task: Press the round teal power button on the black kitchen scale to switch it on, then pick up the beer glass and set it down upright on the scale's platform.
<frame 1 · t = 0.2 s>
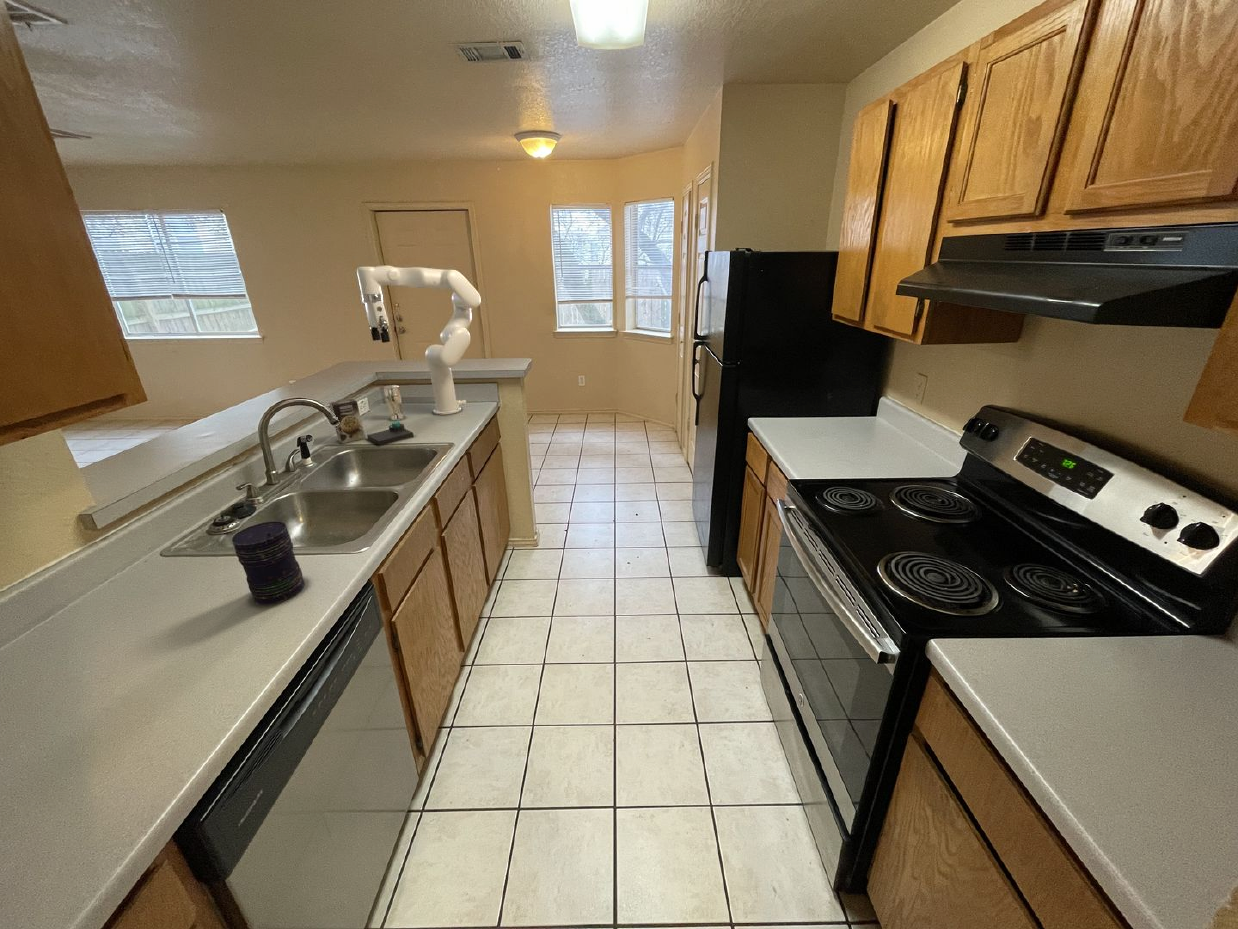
hand: (381, 341, 214), 36 cm above the counter, tool pointing down, fingers open, 9 cm apart
cookie box: (352, 439, 209), on the counter
scale: (390, 437, 209), on the counter
storage jar: (280, 592, 112), on the counter
scale button: (396, 424, 213), point 4 cm above the counter, slide at 0.1 cm
beer glass: (397, 418, 235), on the counter
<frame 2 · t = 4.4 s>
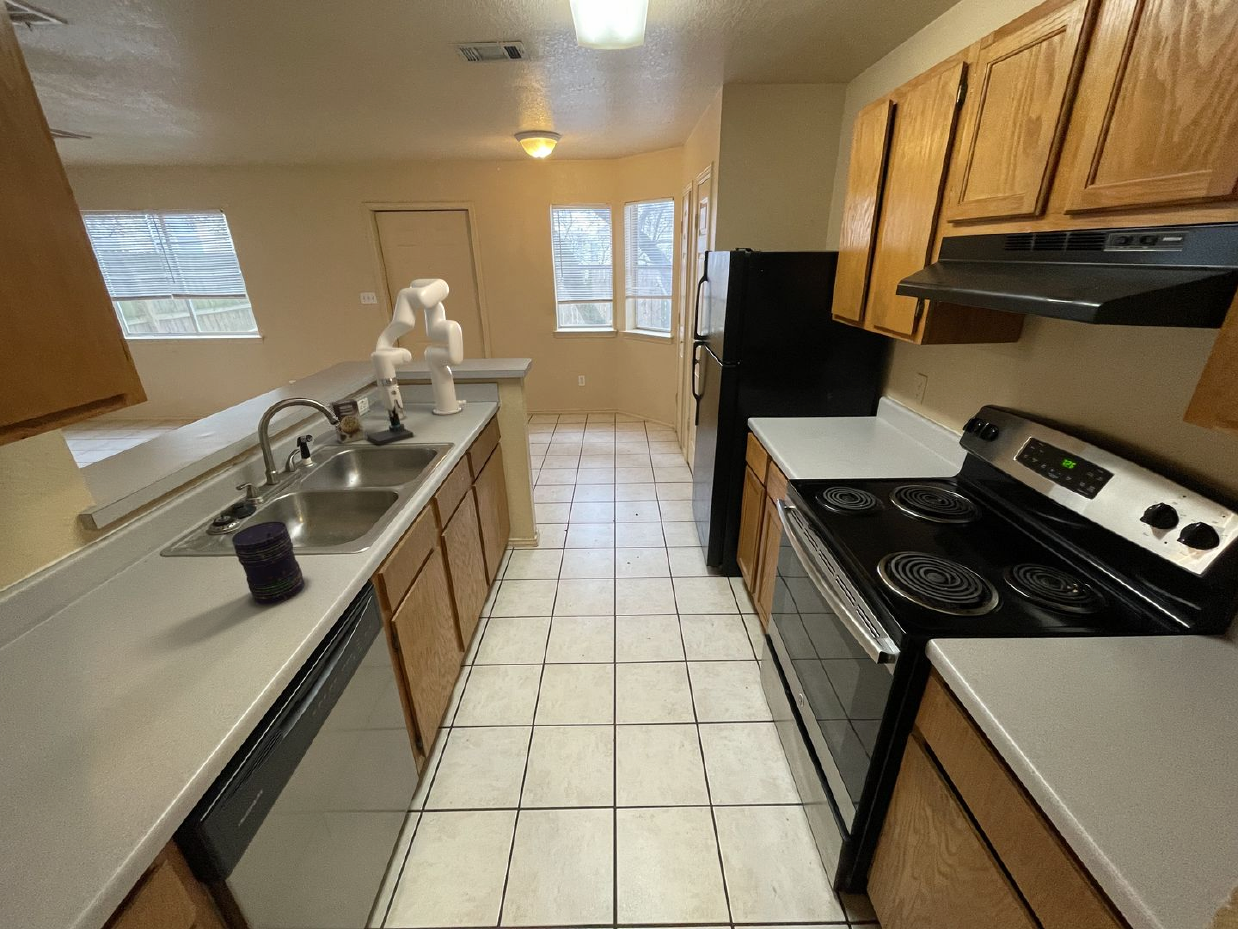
hand: (395, 424, 213), 4 cm above the counter, tool pointing down, fingers closed
scale button: (396, 426, 213), point 3 cm above the counter, slide at -0.7 cm, touching gripper
everything else where it was.
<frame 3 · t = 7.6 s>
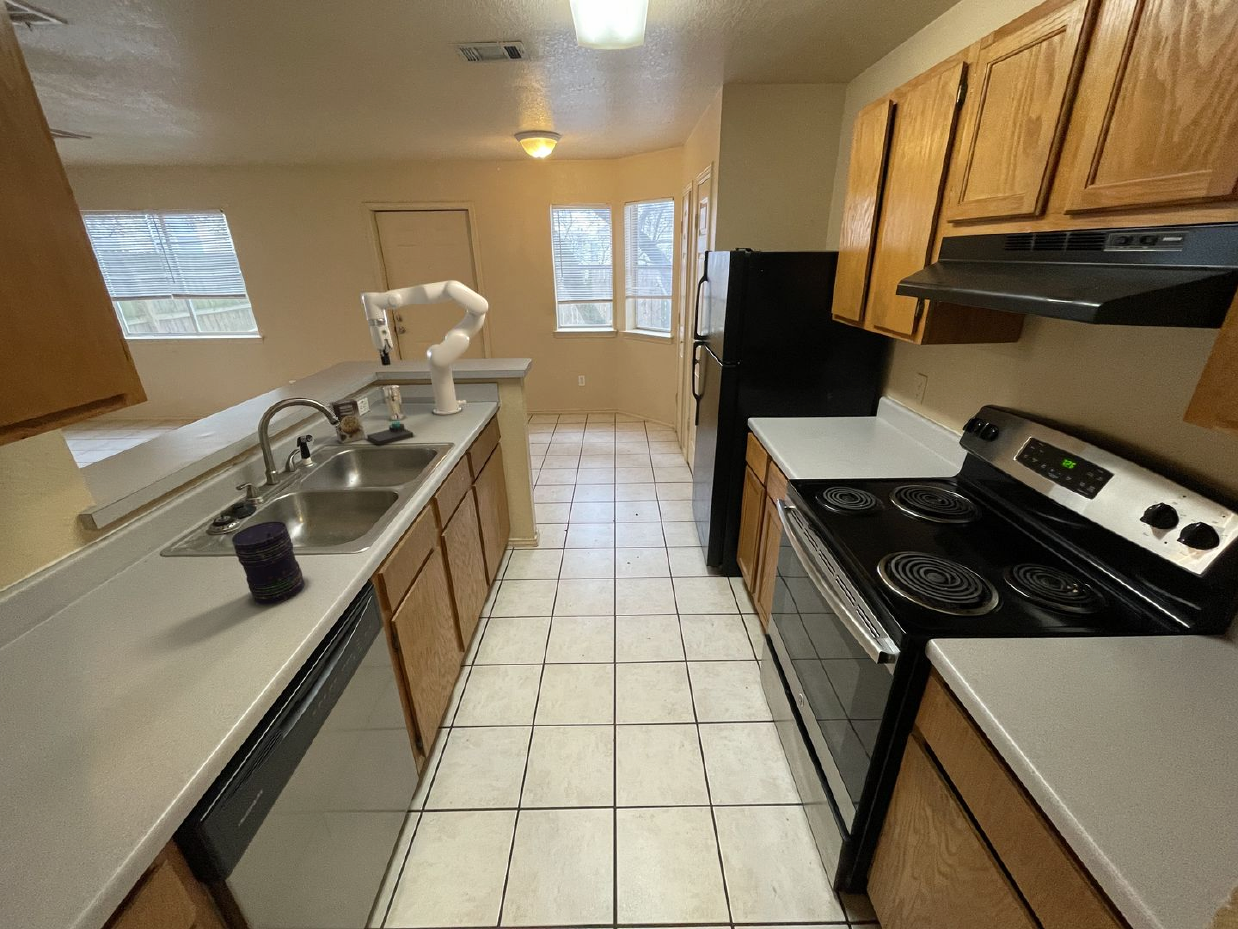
hand: (386, 364, 225), 25 cm above the counter, tool pointing down, fingers closed
scale button: (396, 424, 213), point 4 cm above the counter, slide at 0.1 cm
everything else where it was.
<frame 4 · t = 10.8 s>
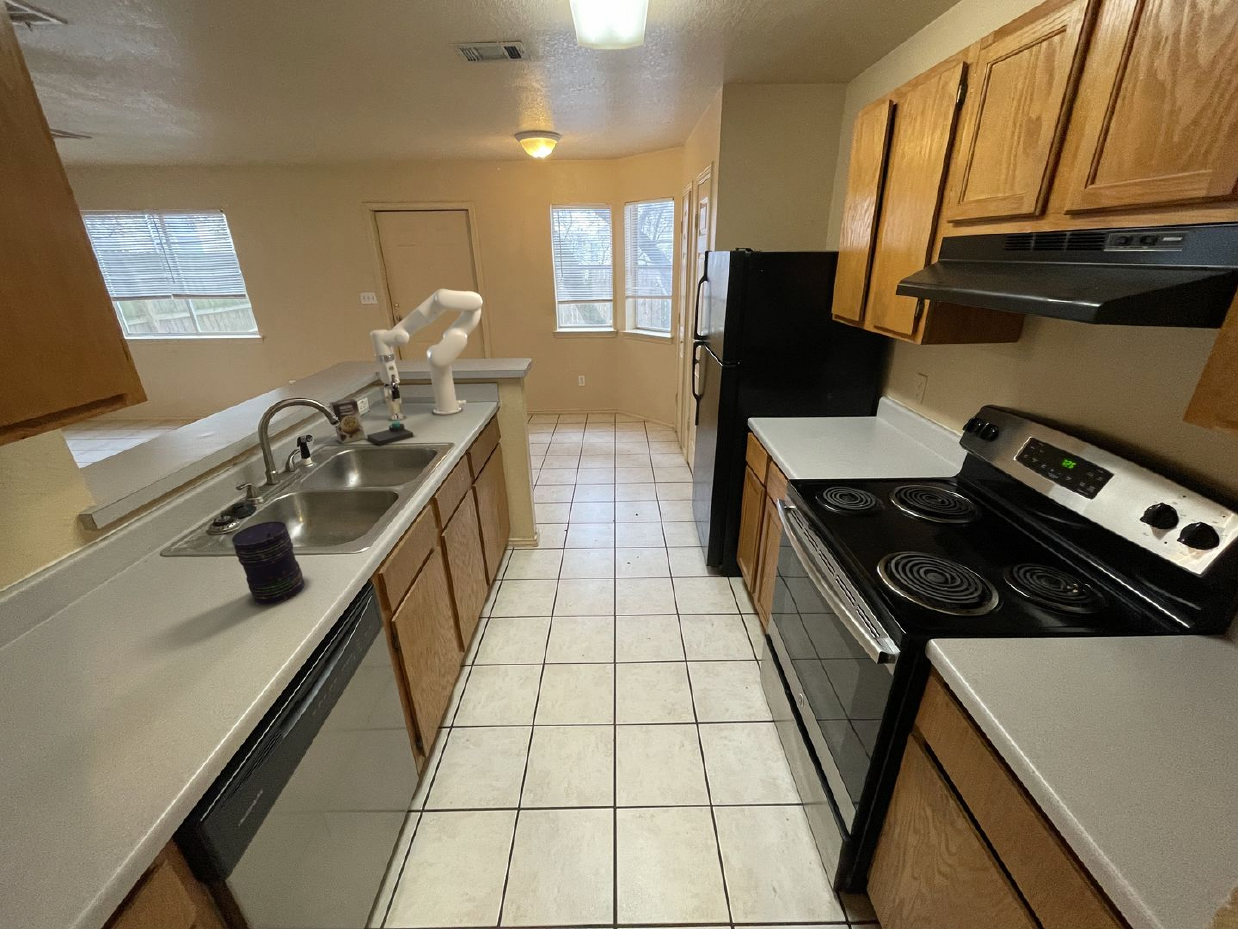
hand: (393, 397, 231), 10 cm above the counter, tool pointing down, fingers closed on beer glass, 7 cm apart
beer glass: (397, 418, 235), on the counter, touching gripper
everything else where it was.
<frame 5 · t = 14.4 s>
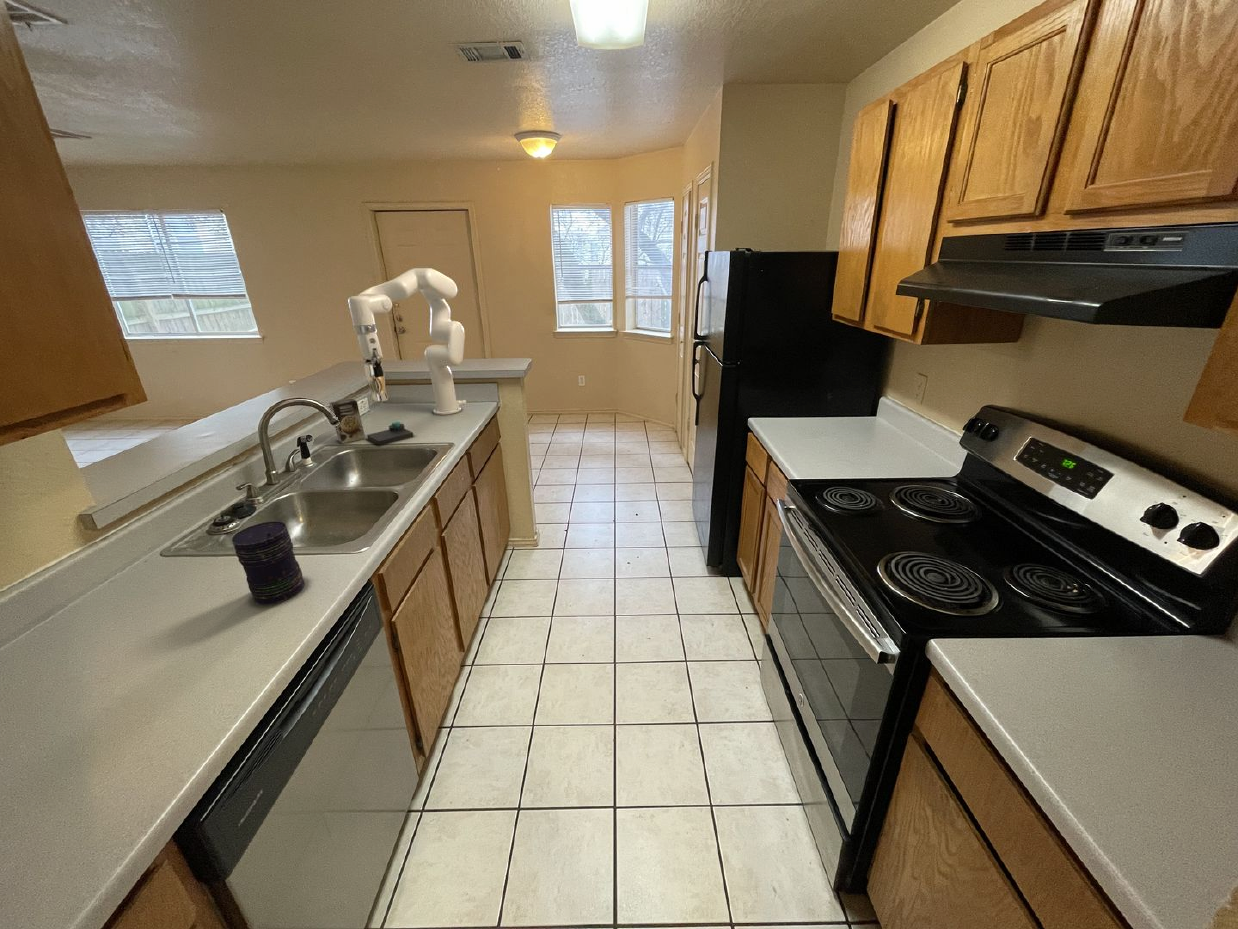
hand: (375, 375, 201), 26 cm above the counter, tool pointing down, fingers closed on beer glass, 7 cm apart
beer glass: (380, 400, 205), point 15 cm above the counter, touching gripper
everything else where it was.
when the fingers open (12 cm above the counter, at t = 18.5 s): beer glass stays where it is, resting on scale.
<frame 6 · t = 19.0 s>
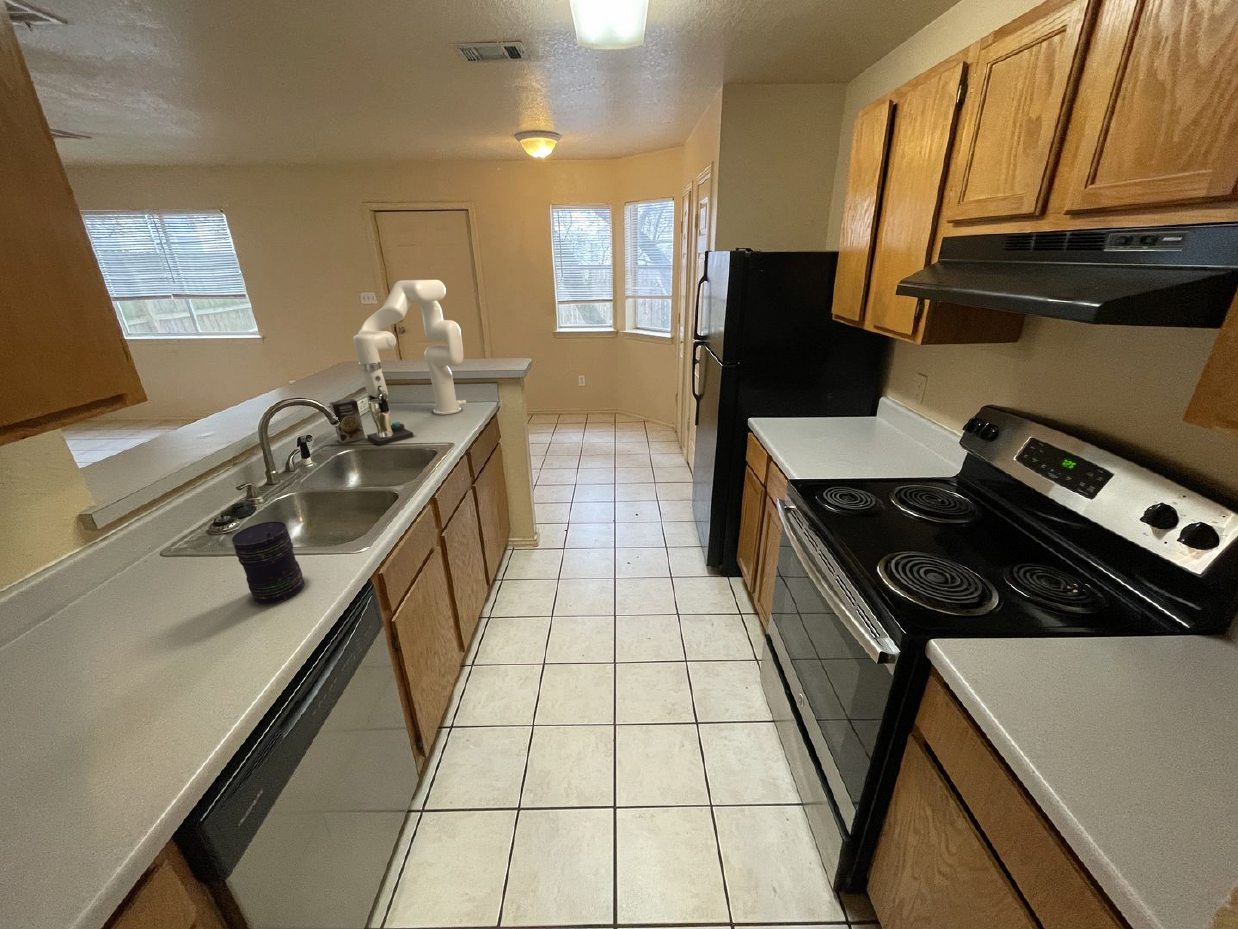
hand: (380, 409, 201), 13 cm above the counter, tool pointing down, fingers open, 9 cm apart
beer glass: (385, 436, 205), point 2 cm above the counter, touching scale
everything else where it was.
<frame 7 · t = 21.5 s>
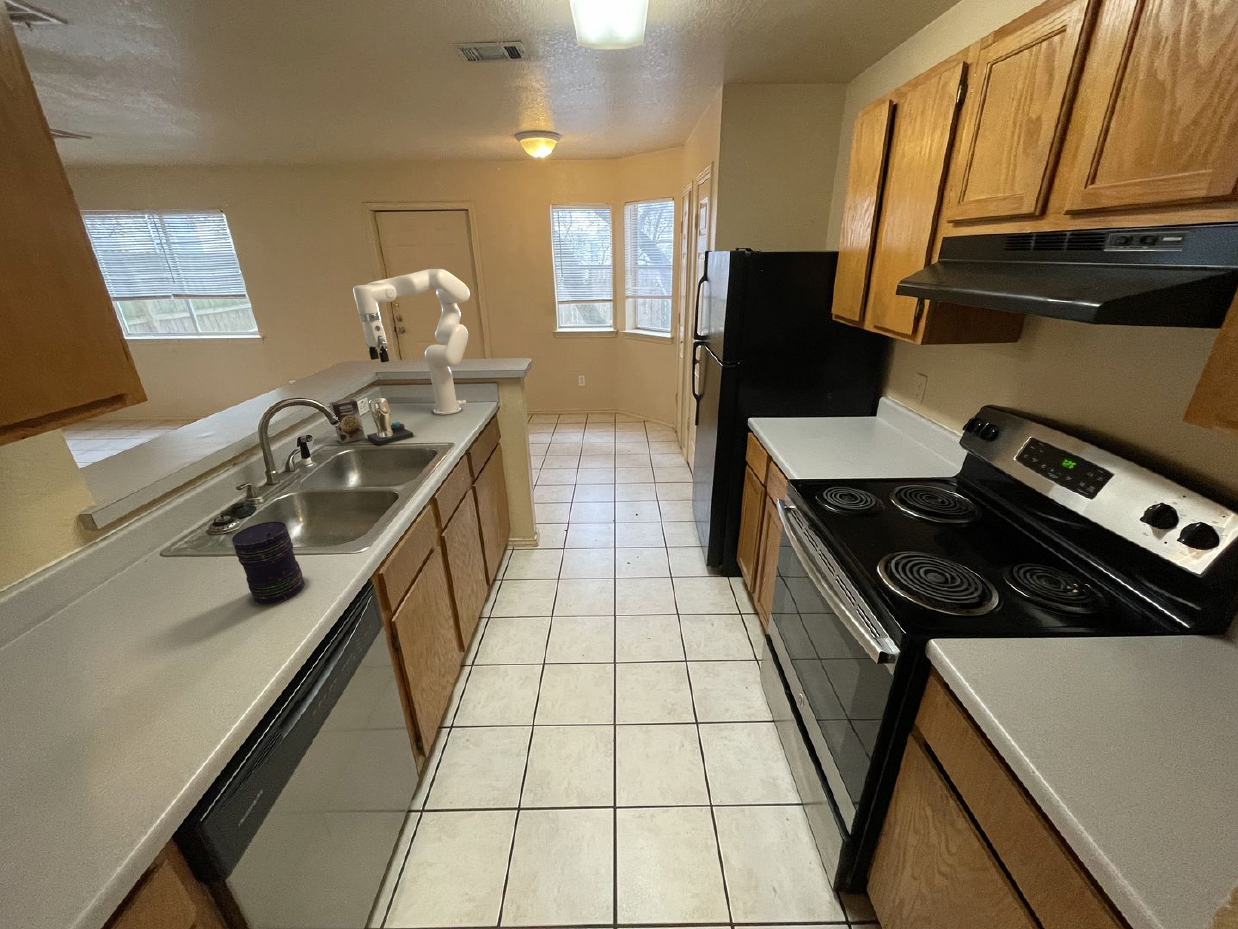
hand: (380, 360, 208), 30 cm above the counter, tool pointing down, fingers open, 9 cm apart
nothing on the counter moved.
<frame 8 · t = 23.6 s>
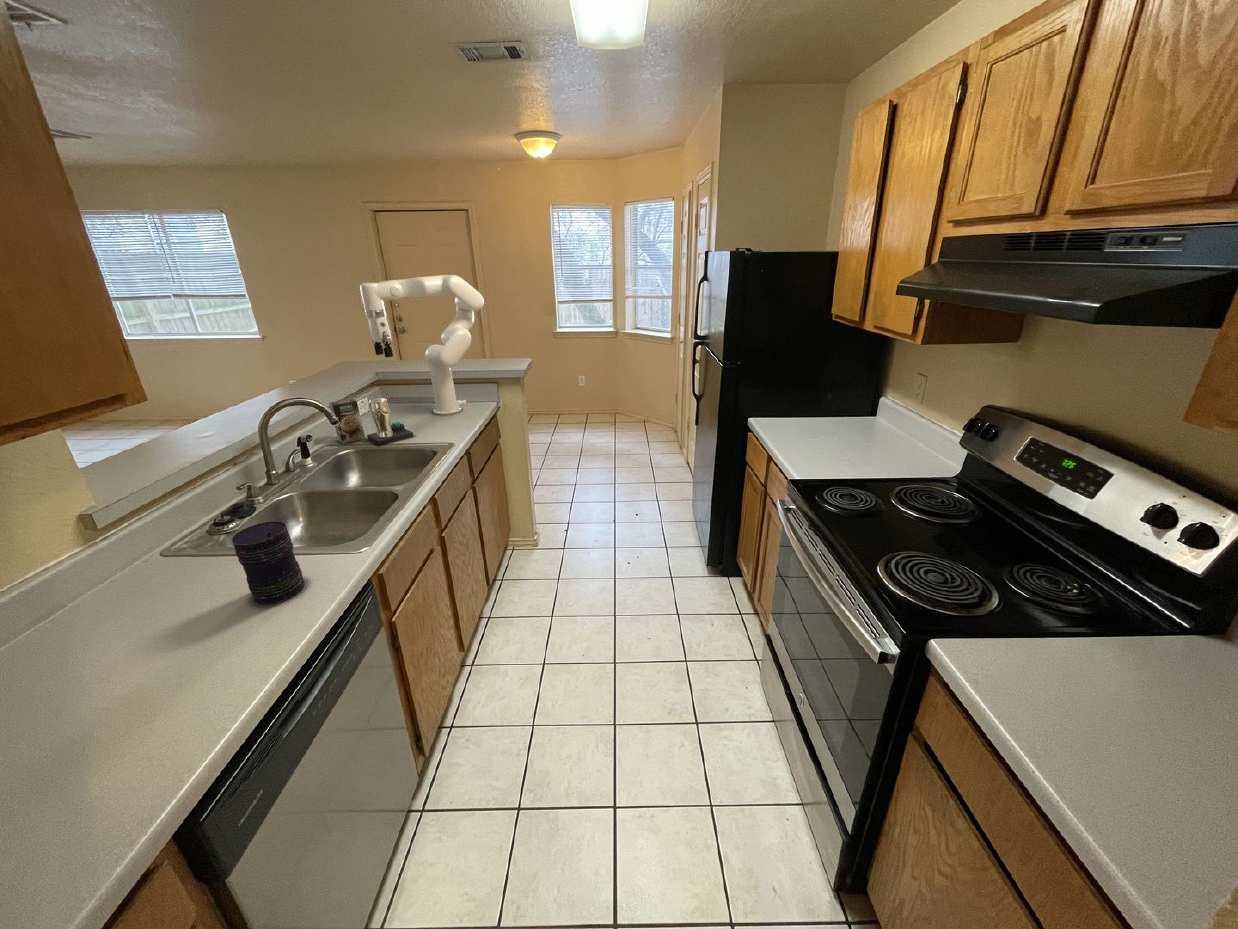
hand: (384, 355, 217), 30 cm above the counter, tool pointing down, fingers open, 9 cm apart
nothing on the counter moved.
at the end: scale button pushed in 0.9 cm at the most during the clip, back to where it started at the end; beer glass inside the target area on the scale (0.0 cm from its centre), point 1.7 cm above the scale's base; beer glass tilted 0° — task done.
